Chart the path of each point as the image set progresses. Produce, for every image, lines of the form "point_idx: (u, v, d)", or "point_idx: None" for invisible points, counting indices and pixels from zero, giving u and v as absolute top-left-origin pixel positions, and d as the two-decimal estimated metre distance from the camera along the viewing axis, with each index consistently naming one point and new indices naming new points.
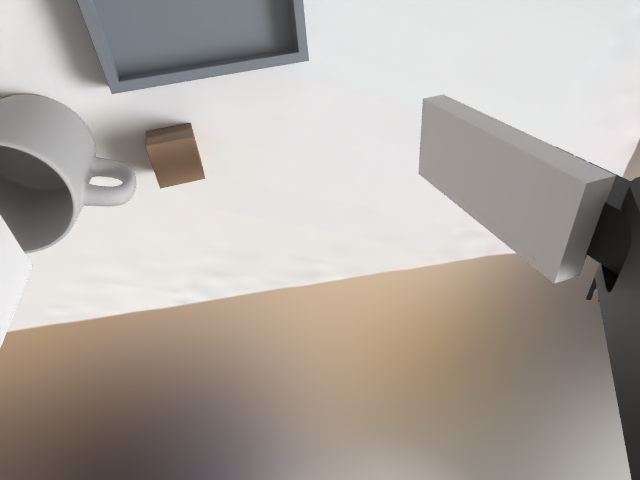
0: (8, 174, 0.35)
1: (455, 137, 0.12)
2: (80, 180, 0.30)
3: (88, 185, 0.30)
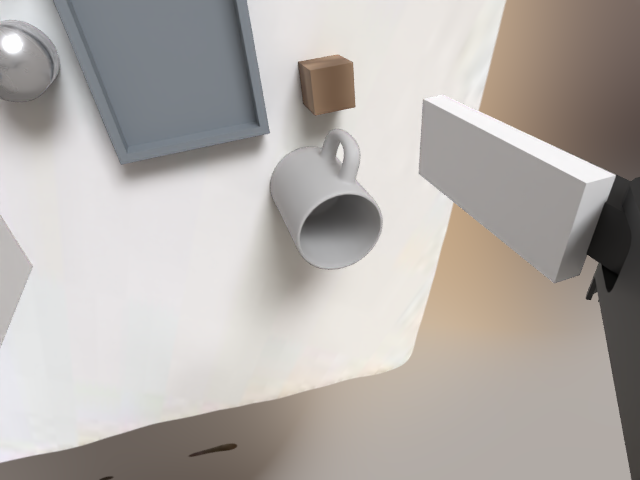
0: (327, 206, 0.47)
1: (455, 137, 0.12)
2: (334, 181, 0.37)
3: (339, 175, 0.37)
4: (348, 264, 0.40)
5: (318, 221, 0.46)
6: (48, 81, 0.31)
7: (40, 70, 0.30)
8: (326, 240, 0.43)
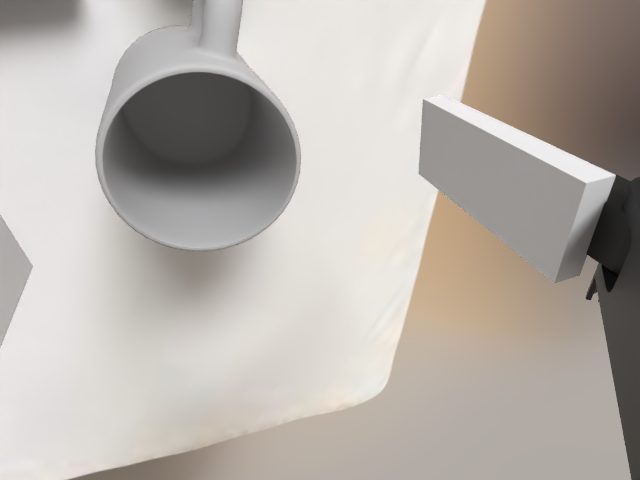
0: (227, 147, 0.27)
1: (455, 137, 0.12)
2: (186, 51, 0.17)
3: (199, 41, 0.17)
4: (236, 241, 0.20)
5: (208, 171, 0.26)
6: None
7: None
8: (210, 199, 0.23)
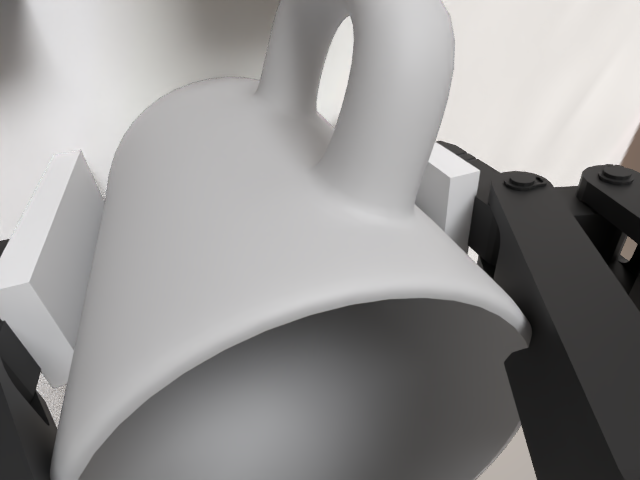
0: None
1: None
2: (295, 201, 0.06)
3: (325, 169, 0.06)
4: None
5: None
6: None
7: None
8: (284, 395, 0.13)
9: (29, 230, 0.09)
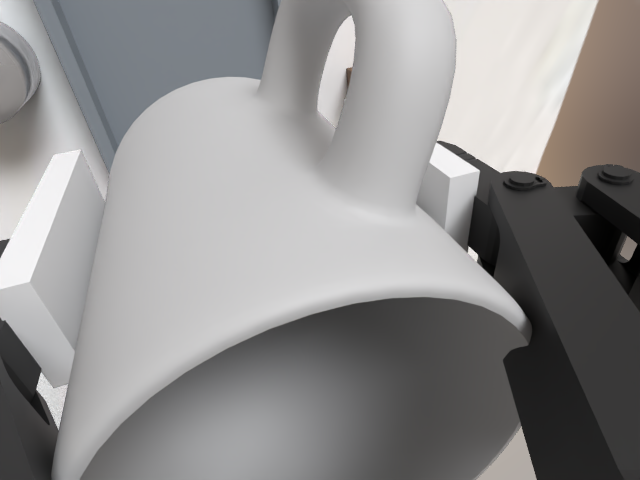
0: None
1: None
2: (297, 200, 0.06)
3: (327, 168, 0.06)
4: None
5: None
6: (22, 98, 0.22)
7: (10, 84, 0.22)
8: (284, 394, 0.13)
9: (29, 230, 0.09)
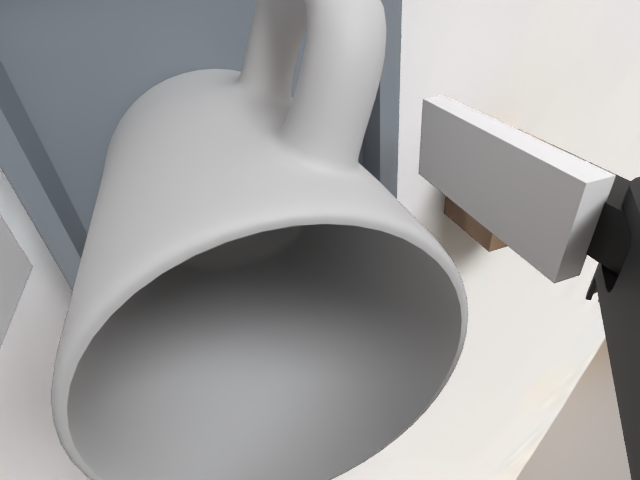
0: (278, 243, 0.18)
1: (455, 137, 0.12)
2: (259, 156, 0.08)
3: (285, 132, 0.08)
4: (325, 477, 0.11)
5: (251, 284, 0.17)
6: None
7: None
8: (261, 354, 0.14)
9: None
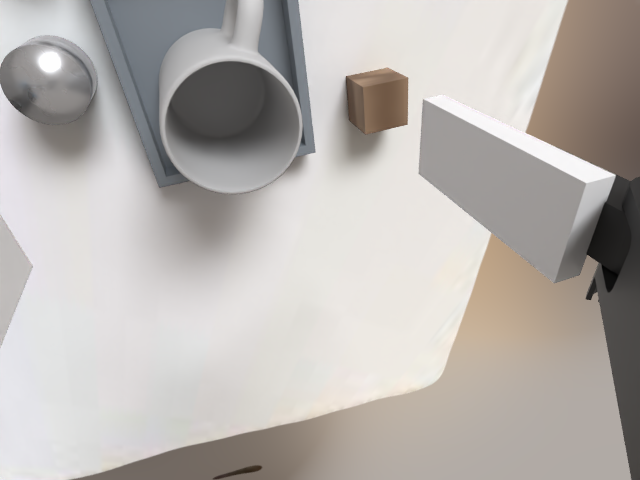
0: (245, 124, 0.34)
1: (455, 137, 0.12)
2: (222, 47, 0.24)
3: (231, 40, 0.24)
4: (254, 187, 0.27)
5: (230, 142, 0.33)
6: (88, 102, 0.28)
7: (80, 91, 0.28)
8: (233, 161, 0.30)
9: None
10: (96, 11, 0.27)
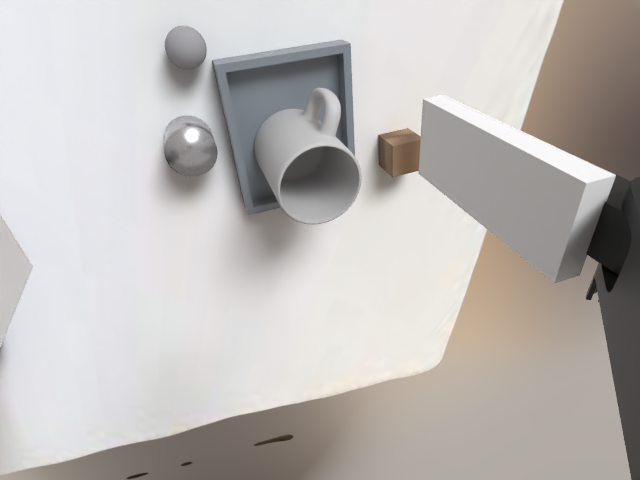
0: (309, 170, 0.49)
1: (455, 137, 0.12)
2: (315, 134, 0.38)
3: (320, 129, 0.38)
4: (327, 220, 0.41)
5: (300, 184, 0.48)
6: (214, 161, 0.42)
7: (211, 154, 0.42)
8: (307, 199, 0.44)
9: None
10: (225, 104, 0.41)
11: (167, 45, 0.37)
